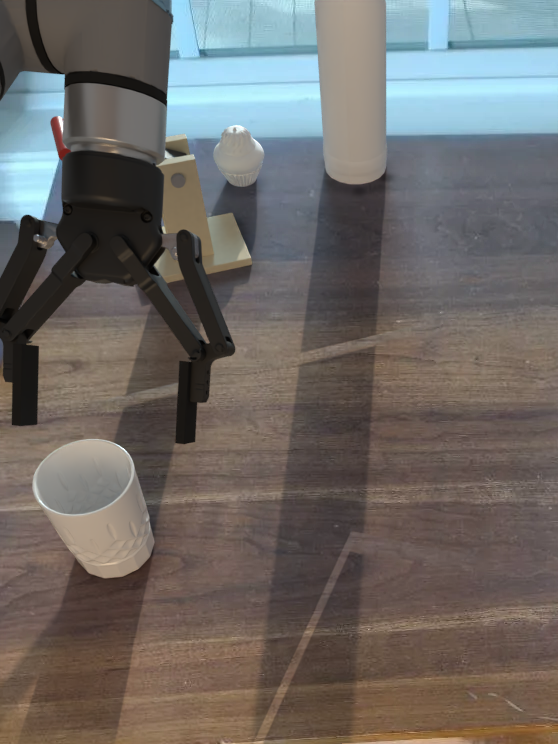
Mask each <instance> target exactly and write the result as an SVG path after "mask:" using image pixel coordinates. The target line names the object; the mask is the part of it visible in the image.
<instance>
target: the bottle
mask: <svg viewBox="0 0 558 744" xmlns="http://www.w3.org/2000/svg"><path fill="white" fill-rule="evenodd" d="M313 6H314V17H315V18H314V22H315V33H316V49H317V64H318V67H317V68H318V80H319V81H318V82H319V95H320V98H319V99H320V109H321V110H320V112H321V127H322V155H323V160H324V169H325V173H326V174H327V175H328V176H329V177H330V179H332V180H335V181H337V182H339V183H343V184H347V185H363V184H368V183H372V182H374V181H376V180H378V179H380V178H381V177H382V176H383V175H384V174H385V173H386V169H387V158H388V144H387V1H386V0H314V5H313Z"/></svg>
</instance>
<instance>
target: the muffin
mask: <svg viewBox="0 0 558 744" xmlns="http://www.w3.org/2000/svg"><path fill="white" fill-rule="evenodd" d="M220 136H221V137H220V140H219V142H217V144H216V145H215V147H214V149H213V153H212V158H213V161H214V163H215V164H216V166H217V169H218V170H219V172H220V173H221V174H222V175H223V177H224V178H225V179H226V180H227V182H228V183H229V184H230V185H232V186H234V187H239V188H243V187H244V188H245V187H249V186H251V185H253V184H255V182H256V181H257V179H258V176H259V174H260V172H261V170H262V167H263V164H264V163H263V161H264V159H265V151H264V148H263V147H262V145H261V144H260V142H258V141H257V140H256V139H254V138H253V136H252V134H251V132H250V131H249V130H248V128H247V127H244V126H242V125H237V124H235V125H231V126H227V127H226V128H224V129H223V131H222V132H221V134H220Z"/></svg>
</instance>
